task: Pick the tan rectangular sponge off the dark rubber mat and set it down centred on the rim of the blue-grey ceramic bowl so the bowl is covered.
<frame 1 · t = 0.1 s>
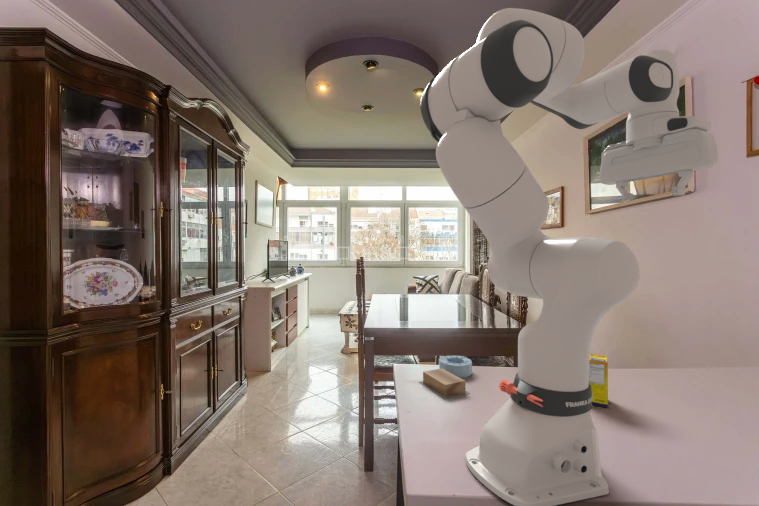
hand: (651, 198, 72), 48 cm above the table, fingers open, 8 cm apart
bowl: (455, 375, 100), on the table
tan rectangular sponge: (443, 387, 88), point 1 cm above the table, touching mat
mat: (443, 391, 88), on the table
supplement box: (592, 401, 83), on the table
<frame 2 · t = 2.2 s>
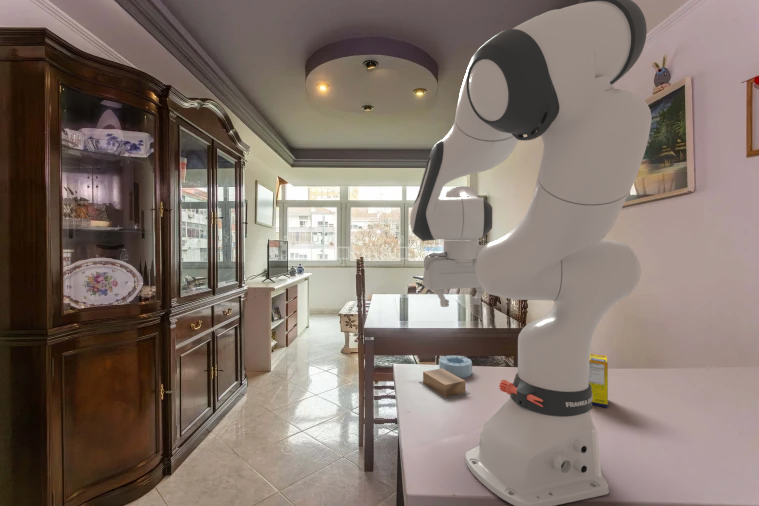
hand: (460, 305, 87), 23 cm above the table, fingers open, 8 cm apart
nothing on the table moved.
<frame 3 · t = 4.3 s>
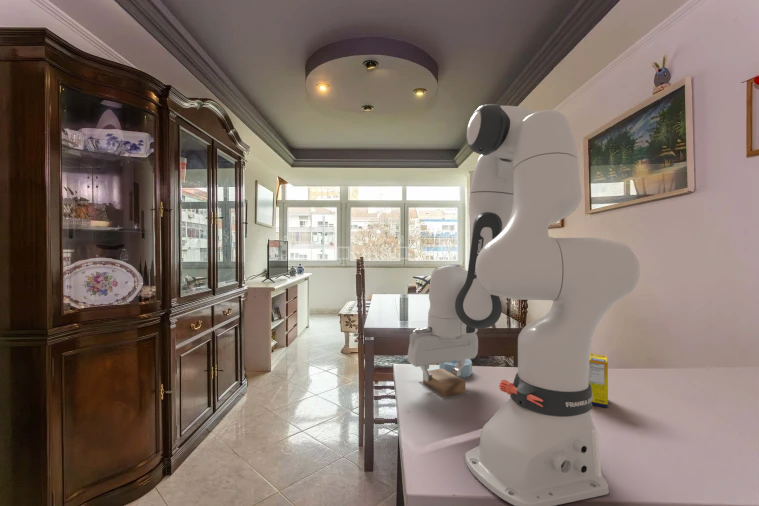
hand: (442, 377, 89), 3 cm above the table, fingers open, 8 cm apart
nothing on the table moved.
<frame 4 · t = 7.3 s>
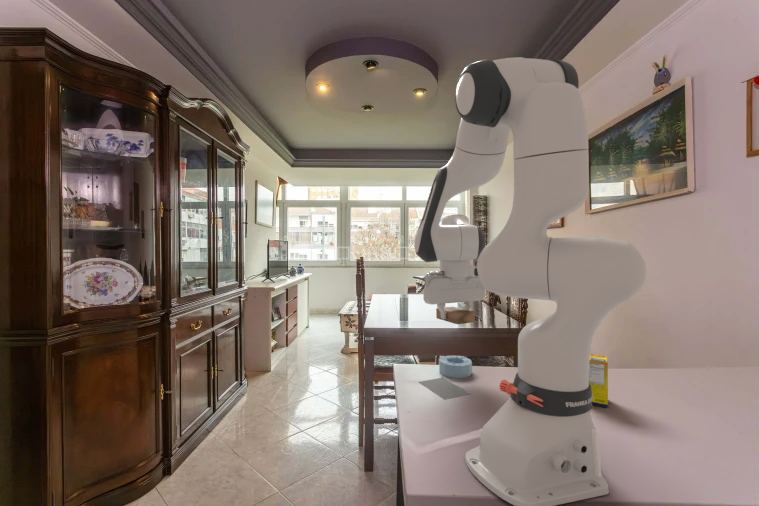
hand: (455, 317, 100), 17 cm above the table, fingers closed on tan rectangular sponge, 6 cm apart
tan rectangular sponge: (454, 320, 100), point 16 cm above the table, touching gripper
everything else where it was.
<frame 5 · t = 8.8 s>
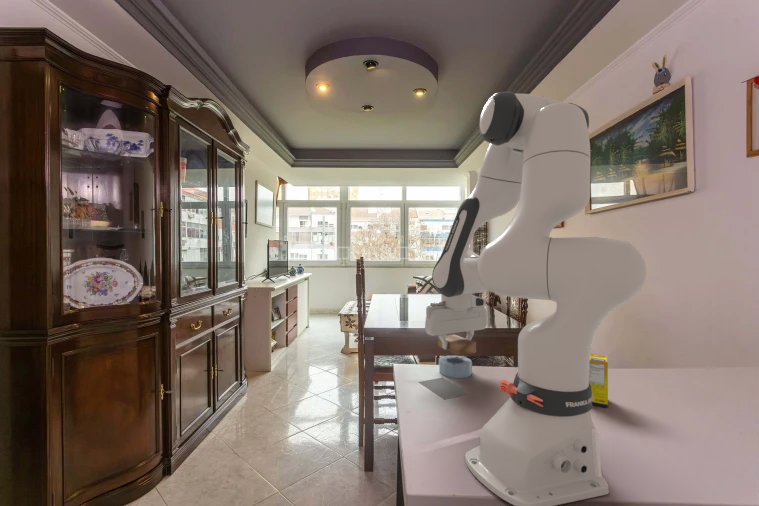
hand: (456, 347, 100), 8 cm above the table, fingers closed on tan rectangular sponge, 6 cm apart
tan rectangular sponge: (456, 349, 100), point 8 cm above the table, touching gripper
everything else where it was.
when the fingers open (6 cm above the table, at t = 9.7 s): tan rectangular sponge drops 1 cm, resting on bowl.
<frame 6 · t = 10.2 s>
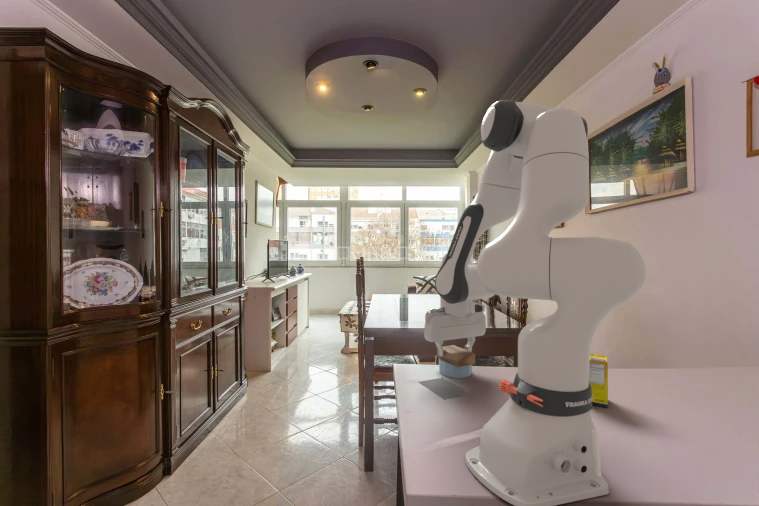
hand: (455, 353, 100), 6 cm above the table, fingers open, 8 cm apart
tan rectangular sponge: (455, 360, 100), point 4 cm above the table, touching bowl
everything else where it was.
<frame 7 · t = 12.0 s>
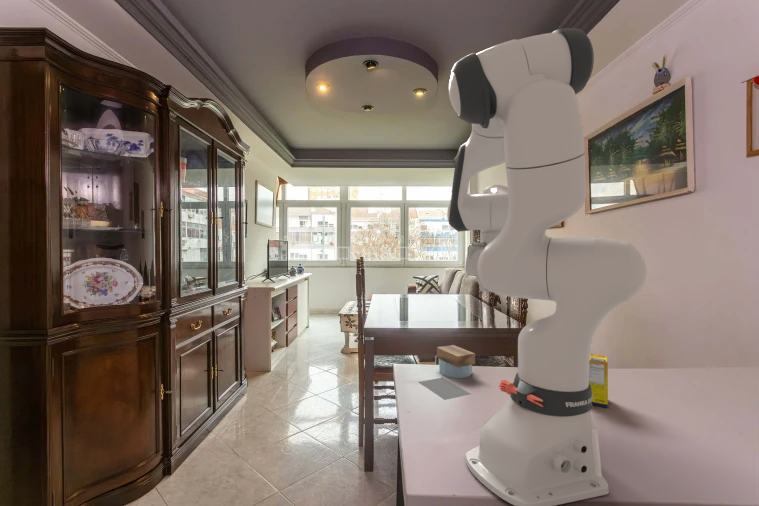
hand: (495, 290, 98), 25 cm above the table, fingers open, 8 cm apart
nothing on the table moved.
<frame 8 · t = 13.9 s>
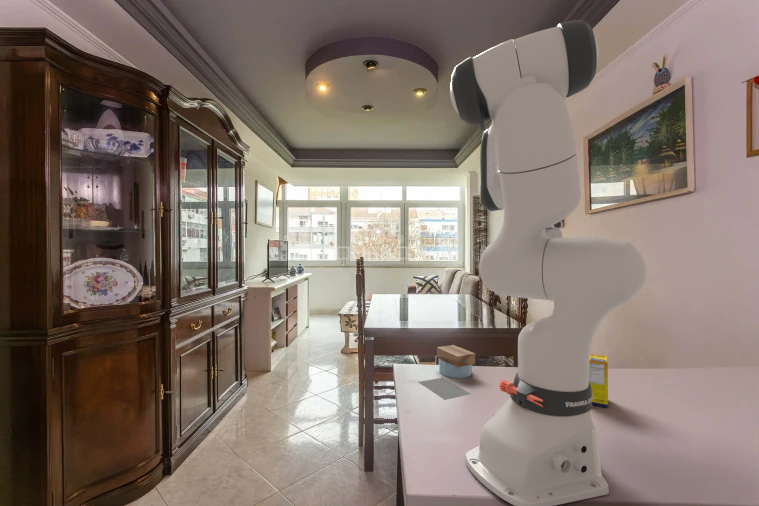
hand: (532, 270, 96), 31 cm above the table, fingers open, 8 cm apart
nothing on the table moved.
at the end: tan rectangular sponge 0.0 cm off-centre on the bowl, point 4.4 cm above the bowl's base; tan rectangular sponge tilted 0°; the gripper is holding nothing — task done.
